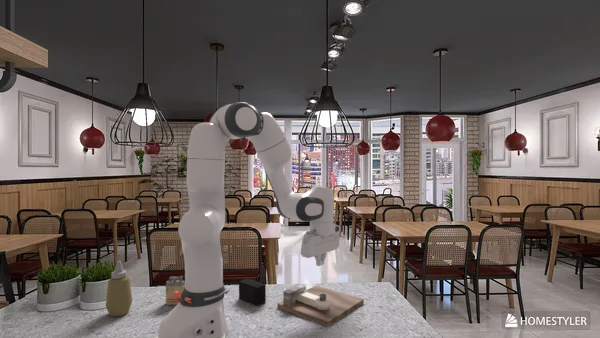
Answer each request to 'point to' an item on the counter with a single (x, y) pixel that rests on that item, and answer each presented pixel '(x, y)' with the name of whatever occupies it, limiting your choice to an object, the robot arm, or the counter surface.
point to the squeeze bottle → (118, 292)
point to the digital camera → (252, 292)
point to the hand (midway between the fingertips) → (320, 265)
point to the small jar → (174, 289)
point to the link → (313, 300)
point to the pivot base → (326, 315)
